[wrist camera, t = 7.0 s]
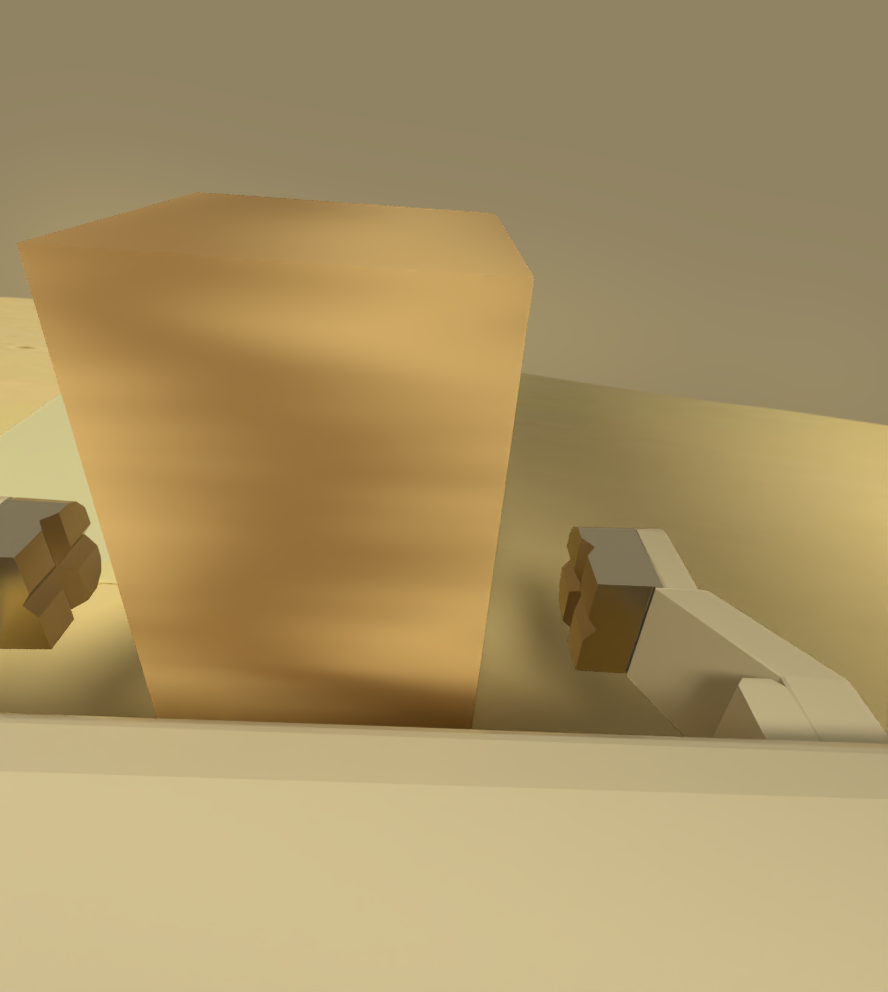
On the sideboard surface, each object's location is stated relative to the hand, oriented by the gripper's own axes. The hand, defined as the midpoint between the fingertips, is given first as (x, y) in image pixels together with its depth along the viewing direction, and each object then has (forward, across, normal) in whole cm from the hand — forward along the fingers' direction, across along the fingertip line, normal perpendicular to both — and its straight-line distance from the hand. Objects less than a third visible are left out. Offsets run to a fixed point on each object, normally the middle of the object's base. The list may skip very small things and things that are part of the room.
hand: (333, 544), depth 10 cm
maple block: (0, 0, +6) cm, 6 cm away
